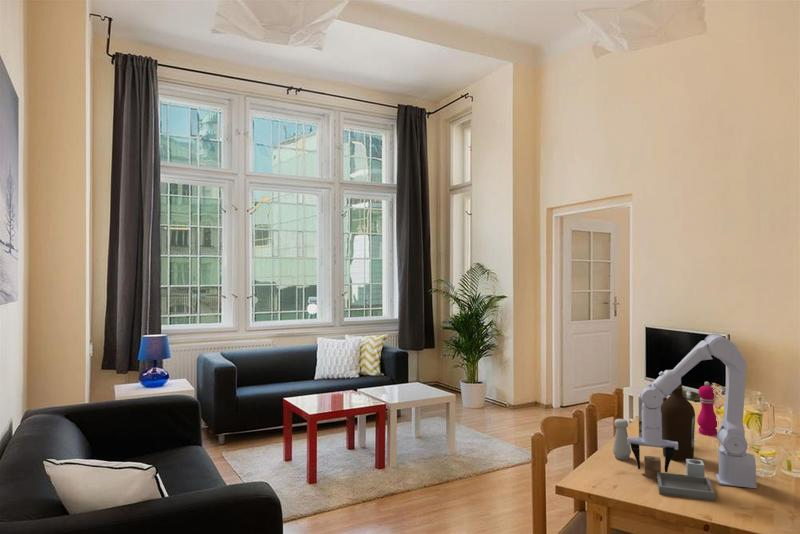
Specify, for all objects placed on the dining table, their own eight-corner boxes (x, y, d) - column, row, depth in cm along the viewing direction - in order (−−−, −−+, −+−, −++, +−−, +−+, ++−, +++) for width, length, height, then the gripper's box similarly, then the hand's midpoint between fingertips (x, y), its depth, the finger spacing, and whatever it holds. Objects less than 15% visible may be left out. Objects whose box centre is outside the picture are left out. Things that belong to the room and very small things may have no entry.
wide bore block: (702, 476, 172) (702, 460, 172) (704, 481, 168) (704, 465, 168) (686, 474, 174) (686, 458, 174) (687, 479, 170) (687, 463, 170)
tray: (708, 485, 165) (708, 477, 165) (715, 500, 154) (714, 492, 154) (656, 479, 171) (656, 471, 171) (659, 494, 159) (659, 486, 160)
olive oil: (663, 460, 187) (661, 385, 187) (659, 450, 197) (658, 379, 197) (698, 463, 183) (697, 387, 183) (693, 453, 193) (691, 381, 193)
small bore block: (660, 472, 176) (659, 456, 176) (661, 478, 172) (660, 461, 172) (644, 471, 178) (644, 455, 178) (645, 476, 173) (644, 459, 173)
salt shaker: (632, 461, 187) (631, 422, 187) (614, 460, 188) (613, 421, 188) (628, 455, 192) (628, 417, 192) (611, 454, 194) (610, 417, 194)
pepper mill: (694, 430, 220) (693, 379, 220) (713, 430, 219) (713, 379, 219) (701, 435, 213) (700, 383, 213) (721, 436, 212) (721, 383, 212)
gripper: (676, 424, 176) (677, 468, 176) (626, 421, 181) (627, 462, 181) (678, 431, 169) (679, 475, 169) (626, 426, 175) (627, 470, 175)
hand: (652, 469), depth 175 cm, fingers open, 7 cm apart
